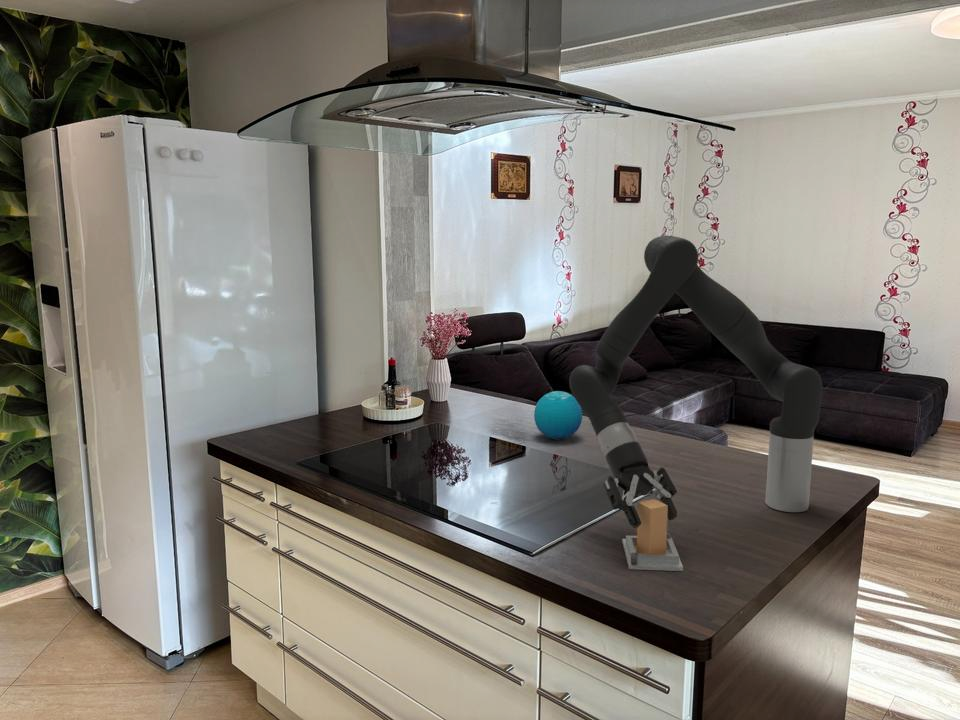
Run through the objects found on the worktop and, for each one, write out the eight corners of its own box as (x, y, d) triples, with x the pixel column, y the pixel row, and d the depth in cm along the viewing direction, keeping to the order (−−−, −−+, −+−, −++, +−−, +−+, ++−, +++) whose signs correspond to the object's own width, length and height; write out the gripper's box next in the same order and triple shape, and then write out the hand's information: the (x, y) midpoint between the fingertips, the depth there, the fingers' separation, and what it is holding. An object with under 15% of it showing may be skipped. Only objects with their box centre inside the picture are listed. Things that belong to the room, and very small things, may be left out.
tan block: (636, 550, 140) (637, 502, 138) (652, 546, 141) (654, 498, 139) (649, 558, 136) (650, 509, 134) (666, 554, 138) (667, 505, 136)
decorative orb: (569, 448, 211) (570, 399, 208) (525, 441, 218) (525, 393, 216) (589, 436, 223) (590, 389, 221) (547, 429, 231) (547, 384, 228)
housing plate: (622, 542, 145) (622, 530, 145) (671, 543, 144) (672, 531, 144) (628, 569, 133) (629, 556, 133) (683, 571, 132) (683, 558, 132)
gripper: (600, 445, 139) (634, 520, 131) (658, 435, 145) (694, 507, 137) (585, 463, 145) (617, 537, 136) (641, 453, 151) (675, 523, 142)
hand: (655, 522), depth 136 cm, fingers open, 8 cm apart
